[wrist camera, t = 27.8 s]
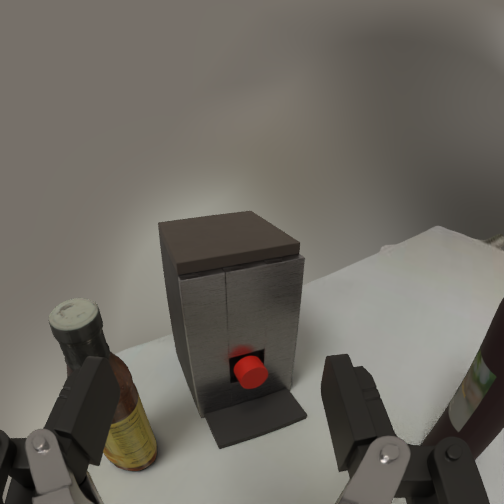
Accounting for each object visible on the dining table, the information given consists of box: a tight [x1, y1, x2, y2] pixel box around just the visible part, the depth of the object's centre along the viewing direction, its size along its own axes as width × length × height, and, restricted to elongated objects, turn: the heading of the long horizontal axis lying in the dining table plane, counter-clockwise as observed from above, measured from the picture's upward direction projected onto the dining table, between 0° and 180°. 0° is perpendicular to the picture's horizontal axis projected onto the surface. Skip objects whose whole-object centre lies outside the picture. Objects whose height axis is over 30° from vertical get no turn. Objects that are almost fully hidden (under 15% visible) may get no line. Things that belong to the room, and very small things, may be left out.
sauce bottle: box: [49, 298, 157, 471], centre depth 23 cm, size 6×6×20 cm
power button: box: [234, 356, 268, 389], centre depth 31 cm, size 2×3×3 cm, turn 114°
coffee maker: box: [158, 211, 307, 449], centre depth 34 cm, size 18×12×20 cm, turn 24°
